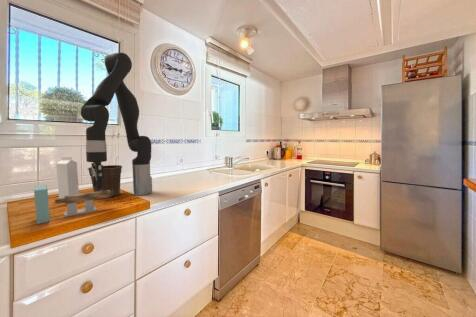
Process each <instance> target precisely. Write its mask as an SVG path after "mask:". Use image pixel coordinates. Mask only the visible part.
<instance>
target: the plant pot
mask: <svg viewBox="0 0 476 317" xmlns="http://www.w3.org/2000/svg"><path fill="white" fill-rule="evenodd" d="M103 166H104V167H103V172H104V179H103V188H102V189H97V188H96V186H94V185H93V177H92V169H91V167H88V168H87V170H88V173H89V176H90V180H91V184H92V190H93V192H97V191H104V190H110V193H111V197H116V196H119V195H120V194H121V179H122V178H121V177H122V176H121V175H122V168H123V166H122V165H118V164H115V165H113V164H112V165H110V164H108V165H103ZM111 197H110V198H111Z"/></svg>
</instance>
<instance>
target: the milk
mask: <svg viewBox="0 0 476 317" xmlns="http://www.w3.org/2000/svg"><path fill="white" fill-rule="evenodd" d="M56 173H57V174H56V175H57V188H58V199H59V198H65V197H64V196H68V195H75V194H80V191H79V190H80V189H79V177H78V162H77V161H75V160H73V158H72V156H61V160H59V161H58V162H57V163H56Z"/></svg>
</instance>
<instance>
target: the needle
mask: <svg viewBox="0 0 476 317" xmlns="http://www.w3.org/2000/svg"><path fill="white" fill-rule="evenodd" d="M64 197H65V198H59V197H58V198H55V199H54V202H55V203H54V204H55V205H57V204H63V203H64V204H65V205H67V204H69V203H76V204H77V203H81V202H85V201H88V200H98V199H99V200H100V199H106V198H107V199H108V198H111V193H110V190H104V191H97V192H94V191H91V192H83V193H79V194H75V195H68V196H64Z"/></svg>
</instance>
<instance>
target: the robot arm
mask: <svg viewBox="0 0 476 317" xmlns="http://www.w3.org/2000/svg"><path fill="white" fill-rule="evenodd" d="M103 61H104V66H105V69H106V72H107V74H108V75H106V77H104V78H103V79H102V80H101V81H100V82H99V84H98V85H97V87H96V89H95V91H94V93H93V94H92V96H91V97H90V98H88V99H87V101H85V102H84V103H83V105H82V106H81V108H80V116H81V118H82V119H83V120H84V121H86V122H93V125H91V126H89V127H86V130H85V136H86V137H85V139H86V141H85V153H86V154H85V156H86V162H87V163H91V164H90V165H91V169H92V177H93V185H94V186H96V188H97V189H102V188H103V179H104V172H103V167H104V166H105V165H103V164H102V163H103V162H107V161H108V155H107V154H108V153H107V152H108V151H107V150H108V149H107V147H108V146H107V142H106V141H107V140H106V139H107V138H106V130H107V127H108V123H109V120H110V112H109V110H108V108H107V106H110V104H111V102H112V100H113V99H114V96H115V97H116V101H117V104H118V105H117V106H118V109H119V111H120V114H121V118H122V121H123V122H122V123H123V125H124V129H125V130H124V131H125V136H126V141H127V146H128V148H129V150H131V151H132V152H133V153H135V152H136V156H135V157H134V158H133V159H132V160H131V163H132V164H131V165H132V187H133V190H132V191H133V195H134V196H145V195H149V194H152V193H153V176H151V159H152V141H151V139H150V137H148V136H146V135H140V134H139V131H138V122H139V118H140V107H139V104H138V100H137V98H136V96H135V95H134V94H133V92H132V91H131V90H130V89H129V88H128V87H127V86H126V84H125V81H124V80H125V78H126V77H127V75H128V74H129V73H130V72H131V70H132V67H133V63H132V60H131V58H130V56H129V55H128V54H126V53H124V52H116V53H110V54H106V55H105V57H104V60H103ZM93 185H92V186H93Z"/></svg>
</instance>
